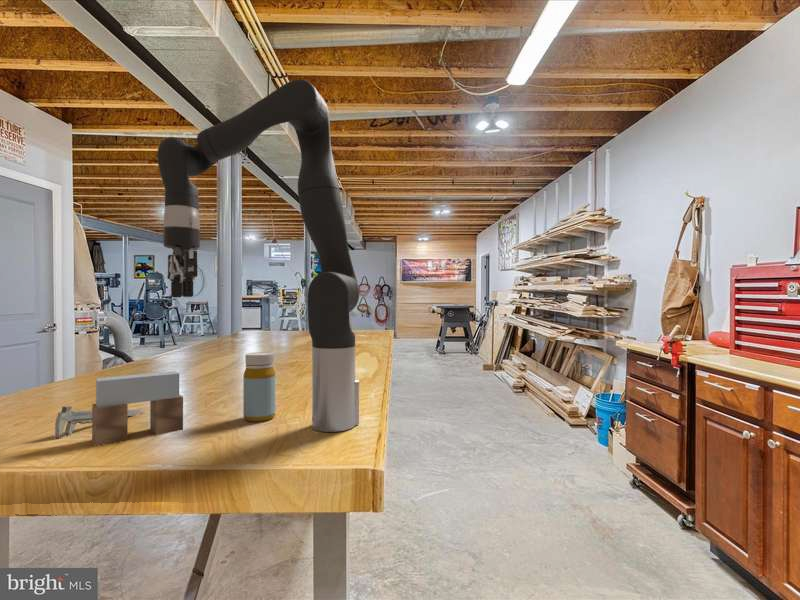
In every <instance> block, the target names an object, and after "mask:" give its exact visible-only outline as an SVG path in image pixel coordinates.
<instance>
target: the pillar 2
mask: <svg viewBox="0 0 800 600" xmlns="http://www.w3.org/2000/svg"><path fill="white" fill-rule="evenodd" d="M149 404H150V405H149V406H150V407H149V408H150V409H149V413H150V415H149V417H150V419H149V424H150V429H149V430H150V431H152V433H154V434H155V435H156V436H157V435H162V434H163V435H164V434H167V433H174V432H177V431H178V430H179V431H184V396H182V395H181V394H179V397H178V398H170V399H162V400H154V401H149ZM179 431H178V432H179Z"/></svg>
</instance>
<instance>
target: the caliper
mask: <svg viewBox="0 0 800 600" xmlns="http://www.w3.org/2000/svg"><path fill="white" fill-rule="evenodd" d="M144 412H145V410H142V408H133V409H132V408H131V409H130V408H129V409H128V417H134V415H136V416H138V415H137V414H139V415H141V414H145V413H144ZM66 422H67V423H66ZM77 424H82V425H83V424H84V425H85V424H92V410H91V409H89V410H88V409H87V410H73V406H72V405H71V406H69V405H68V406H62V407H61V411H60V412H58V413H57V415H56V419H55V425H54V435H55V438H58V439H62V437H63V434H64V435H66V436H65V437H69V436H68V435H70V436H71V435H72V433H73V431H74V430H75V427H76V425H77ZM65 426H66V427H65ZM64 429H65V430H64Z"/></svg>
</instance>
